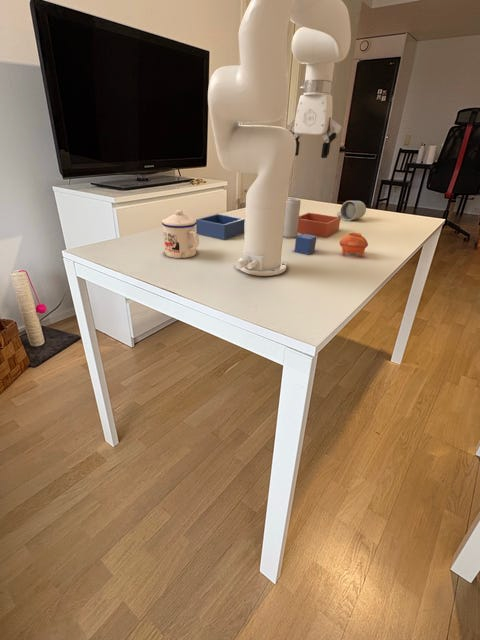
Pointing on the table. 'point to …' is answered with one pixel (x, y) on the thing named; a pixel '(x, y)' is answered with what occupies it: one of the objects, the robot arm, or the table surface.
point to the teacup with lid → (180, 235)
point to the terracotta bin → (318, 224)
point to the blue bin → (220, 226)
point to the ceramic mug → (352, 210)
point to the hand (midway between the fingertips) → (309, 156)
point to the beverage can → (291, 217)
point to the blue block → (305, 243)
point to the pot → (353, 243)
